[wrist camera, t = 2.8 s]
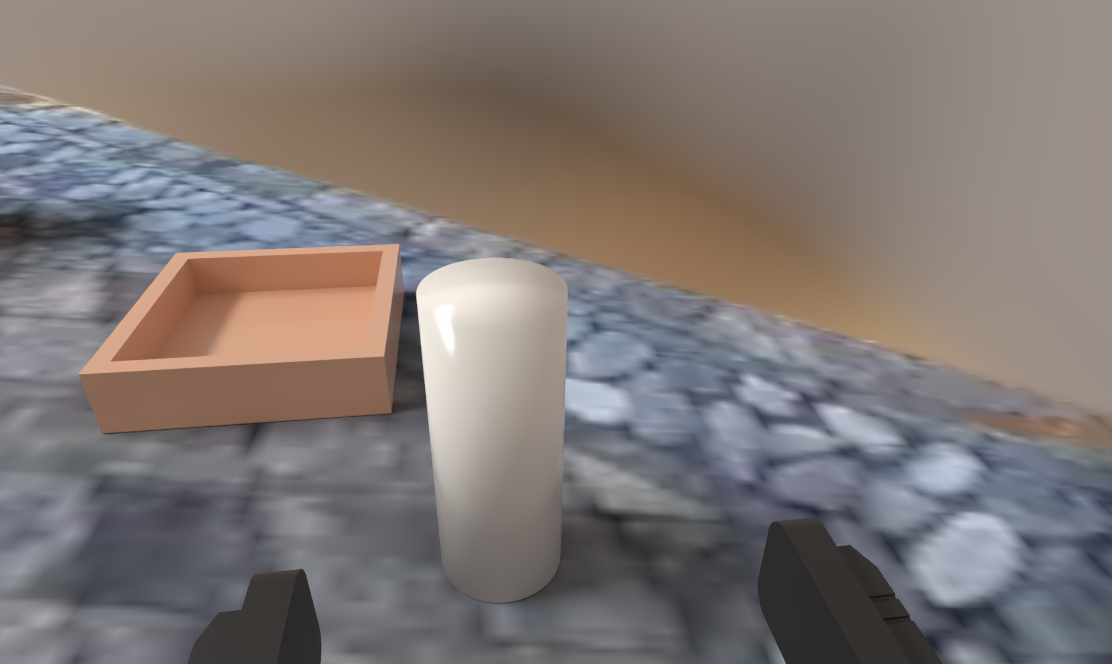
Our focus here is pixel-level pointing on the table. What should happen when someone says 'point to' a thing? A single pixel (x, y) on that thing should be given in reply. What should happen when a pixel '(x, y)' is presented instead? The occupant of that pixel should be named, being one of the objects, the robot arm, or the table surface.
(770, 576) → the robot arm
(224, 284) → the terracotta tray
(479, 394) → the ceramic canister
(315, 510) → the table surface
